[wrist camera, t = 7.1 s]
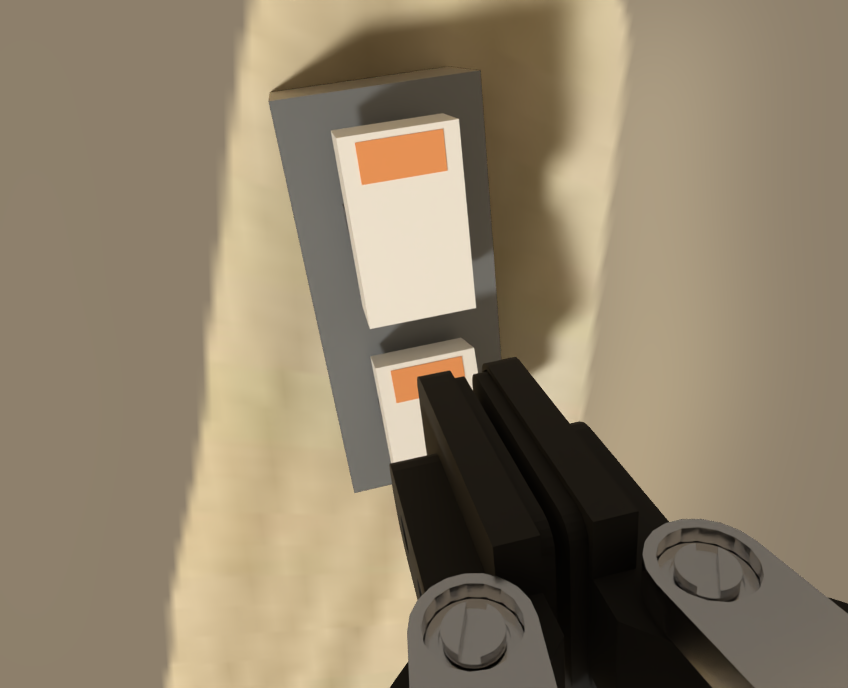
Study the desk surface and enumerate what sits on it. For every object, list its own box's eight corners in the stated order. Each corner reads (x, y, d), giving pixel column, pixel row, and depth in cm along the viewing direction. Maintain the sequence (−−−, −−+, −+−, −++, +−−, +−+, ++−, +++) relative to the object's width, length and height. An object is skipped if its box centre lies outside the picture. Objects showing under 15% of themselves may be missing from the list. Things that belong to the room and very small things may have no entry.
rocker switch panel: (489, 479, 34) (522, 549, 29) (360, 510, 33) (374, 587, 28) (450, 65, 25) (492, 70, 20) (270, 92, 24) (268, 103, 19)
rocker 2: (483, 477, 25) (497, 499, 23) (397, 498, 25) (405, 522, 23) (461, 337, 24) (474, 348, 22) (370, 356, 24) (375, 368, 22)
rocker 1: (460, 287, 22) (476, 307, 21) (362, 307, 22) (370, 329, 20) (442, 113, 20) (459, 119, 18) (330, 130, 19) (335, 138, 17)
